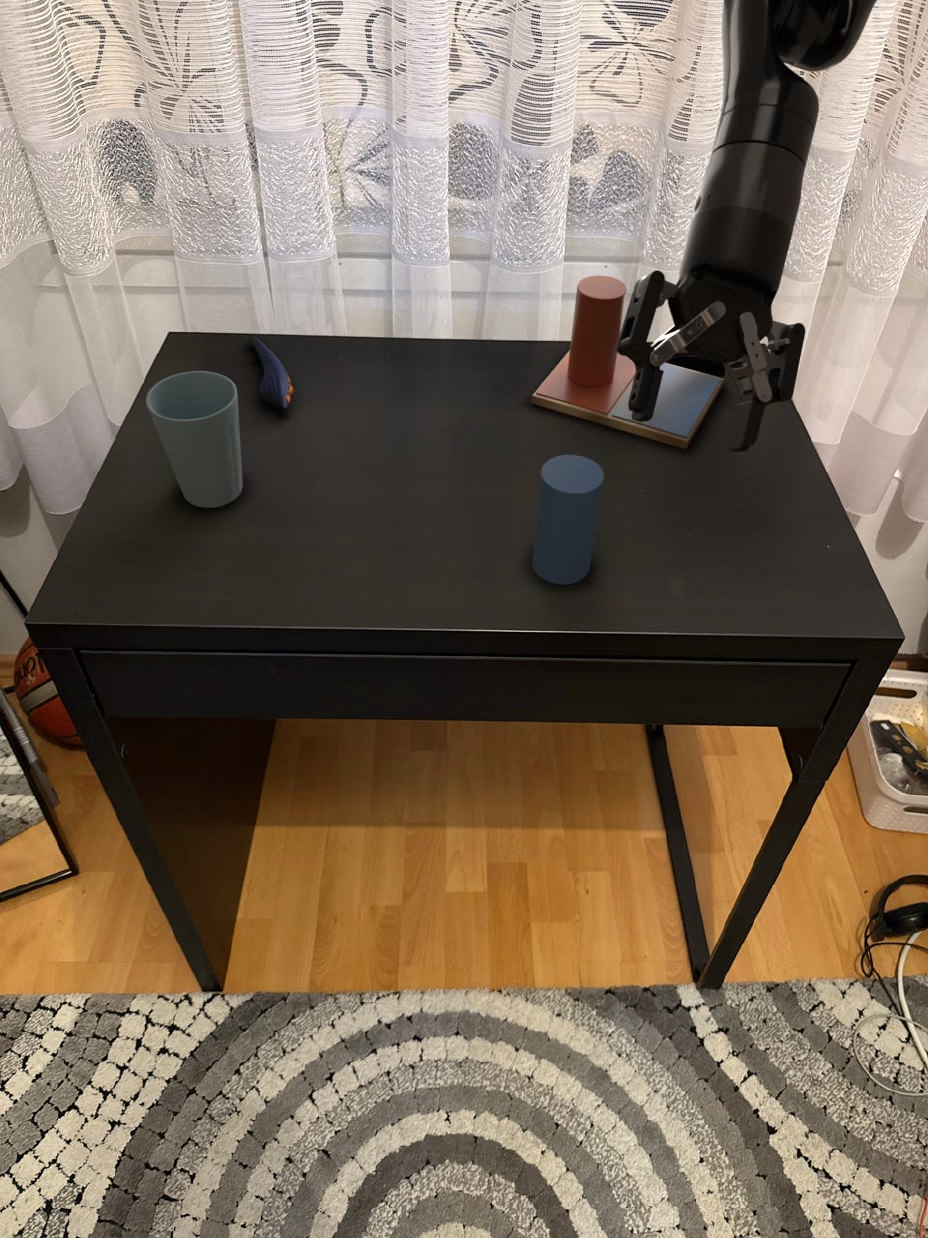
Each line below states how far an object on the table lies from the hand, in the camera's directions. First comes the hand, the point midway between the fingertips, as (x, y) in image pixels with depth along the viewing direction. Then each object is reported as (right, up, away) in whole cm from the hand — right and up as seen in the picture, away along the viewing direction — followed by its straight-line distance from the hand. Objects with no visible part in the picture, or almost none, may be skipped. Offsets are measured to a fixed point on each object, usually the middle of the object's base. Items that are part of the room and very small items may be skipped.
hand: (690, 435), depth 71 cm
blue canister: (-9, -9, +11) cm, 16 cm away
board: (0, +10, +29) cm, 31 cm away
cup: (-41, -2, +17) cm, 44 cm away
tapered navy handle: (-38, +12, +30) cm, 50 cm away
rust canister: (-4, +12, +30) cm, 32 cm away
